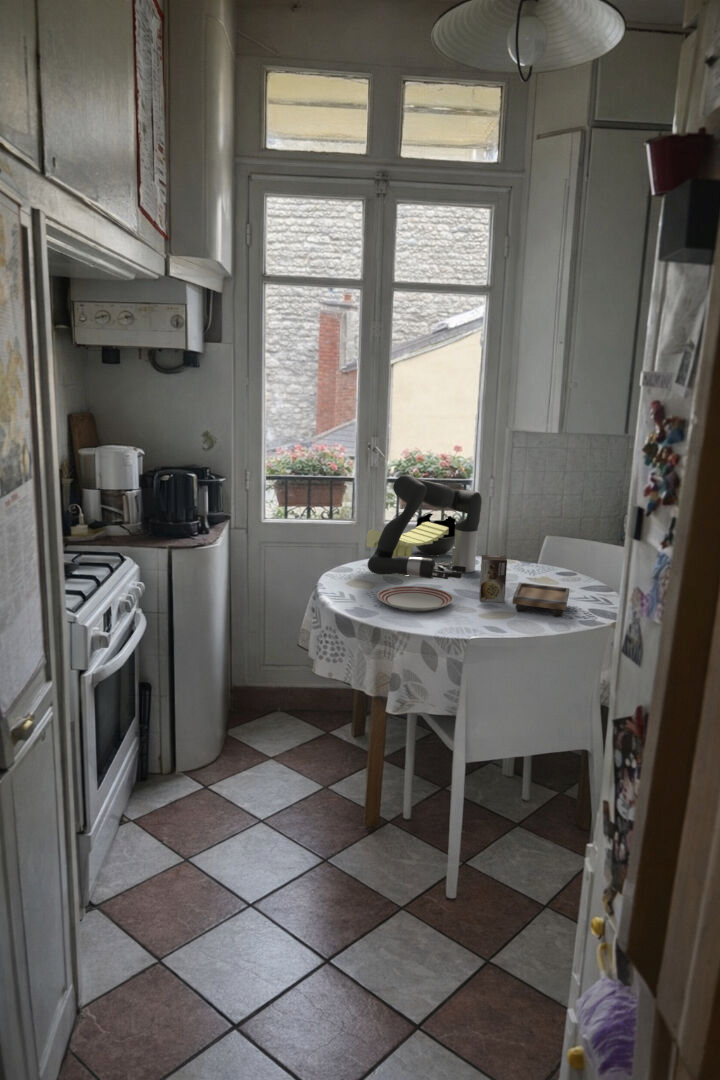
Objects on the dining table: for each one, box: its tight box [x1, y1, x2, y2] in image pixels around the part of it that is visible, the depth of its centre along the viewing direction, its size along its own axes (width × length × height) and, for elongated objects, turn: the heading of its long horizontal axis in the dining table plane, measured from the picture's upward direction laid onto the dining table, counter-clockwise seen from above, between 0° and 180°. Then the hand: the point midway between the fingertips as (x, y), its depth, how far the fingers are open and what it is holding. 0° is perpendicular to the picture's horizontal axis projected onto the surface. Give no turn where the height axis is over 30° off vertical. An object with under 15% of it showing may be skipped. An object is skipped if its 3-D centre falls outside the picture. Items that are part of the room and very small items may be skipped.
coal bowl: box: [413, 512, 457, 557], centre depth 351 cm, size 20×20×19 cm
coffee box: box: [478, 554, 508, 603], centre depth 291 cm, size 9×6×16 cm
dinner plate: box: [376, 585, 455, 612], centre depth 285 cm, size 28×27×3 cm
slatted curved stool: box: [366, 521, 449, 558], centre depth 326 cm, size 30×16×18 cm, turn 127°
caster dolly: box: [512, 582, 570, 617], centre depth 284 cm, size 18×18×6 cm
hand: (463, 572), depth 294 cm, fingers open, 8 cm apart
